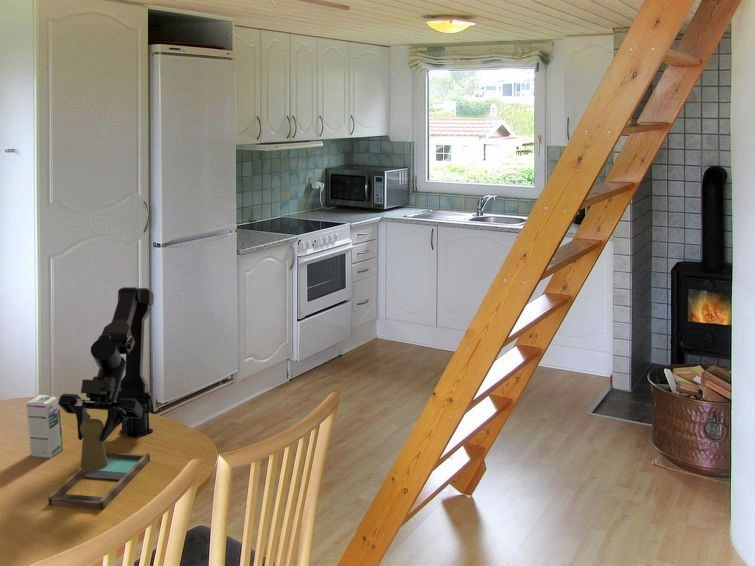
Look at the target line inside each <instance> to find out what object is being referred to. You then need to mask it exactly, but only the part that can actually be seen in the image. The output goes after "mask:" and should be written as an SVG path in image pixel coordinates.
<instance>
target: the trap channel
mask: <svg viewBox="0 0 755 566" xmlns="http://www.w3.org/2000/svg"><path fill="white" fill-rule="evenodd" d="M105 452H106V457H107V458H117V459H130V460H139V461H138V462H137V463H136V464H135V465H134V466H133V467H132V468H131V469H130V470H129V471H128V472H127V473H116V472H104V471H85V470H83V469H81V467H79V468H78V469H77V470H76V471H75V472H74V473H72V475H71V476H70V477H68V478H67V479H66V480H65V481H64V482H63V483H62V484H61V485H59V487H57V488H56V489H55V490H54V491H53V492H52V493H51V494H50V495H48V496H47V501H48V506H55V507H66V508H78V509H89V510H99V511H100V510H101V511H104V510H105V508H106V507H107V506H108V505H110V503H111V502H112V501H113V500H114V499H115V498H116V497H117V496H118V495H119V494H120V493H121V492H122V491H123V489H124V488H126V487H127V485H128V484H130V482H132V480H133V479H134V478H135V477H136V476H137V475H138V474H139V473H140V472H141V471H142V470H143V469H144V468H145V466H146V465H147V464H148V463H149V462H150V461H151V457H150V453H148V452H146V453H145V454H141V453H139V454H138V453H129V452H128V453H125V452H114V451H105ZM81 479H88V480H89V479H90V480H91V479H92V480H101V481H114V482H117V483H115V484H114V485H113V486H112V488H111V489H109V491H108V492H107V493H106V494H104V495H103V496H96V495H95V496H94V495H83V494H72V493H67V492H68V491H70V489H72V488H73V487H74V486H75V485H76V484H77V483H79V481H80V480H81Z"/></svg>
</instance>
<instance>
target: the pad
mask: <svg viewBox="0 0 755 566" xmlns="http://www.w3.org/2000/svg"><path fill="white" fill-rule="evenodd" d="M138 461H139V460H130V459H117V458H107V462H108V465H107V466H106V467H105V468H103V469H101V470H97V471H104V472H116V473H127V472H128V471H129V470H130V469H131V468H132V467H133V466H134V465H135V464H136V463H137V462H138Z"/></svg>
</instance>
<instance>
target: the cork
mask: <svg viewBox="0 0 755 566" xmlns="http://www.w3.org/2000/svg"><path fill="white" fill-rule="evenodd" d="M104 426H105V424H104V422H103V421H102V420H100V419H98V418H90V419H88V420H85V421H83V422H82V424H81V426H80V432H81V434H82V435H83V438H82V443H81V446H82V447H81V455H80V456H81V458H80V468H81V469H83V470H85V471H97V470H101V469H103V468H105V467H106V466H107V465H108V462H107V457H106V452H107V451H106V449H105V443H104V442H102V441H101V435H102V432H103V429H104Z"/></svg>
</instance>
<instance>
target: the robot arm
mask: <svg viewBox="0 0 755 566" xmlns="http://www.w3.org/2000/svg"><path fill="white" fill-rule="evenodd" d="M154 297H155V296H154V292H153V291H151V290H150V289H149V288H148V287H137V286H135V287H133V286H132V287H129V286H128V287H125V286H124V287H121V288H119V289H118V291H117V303H116V307H115V310H114V313H113V316H112V320H111V322H110V323H108V324H106V326H104V328H103V330H102V333H101V334H100V335H99V337H98V338H97V340H96V341H94V342H93V343H92V345H91V346H90V354H91V356H92V358H93V360H94V362H95V364H96V366H97V367H98V368H99V369H98V372H97V375H96V376H93V377H92V379H85V378H84V379H82V381H81V388H80V394H85V396H86V398H87V399H82V398H81V396H79V394H75V393H63V394H61V395H60V396H59V401H58V404H59V407H60V408H61V409H62V410H64V412H66V413H67V414H70V415H71V414H73V415H75V417H76V421H77V438H78V439H79V441H83V435H82V434H81V432H80V426H81V424H82V422H83V421H85V420H88V419H91V415H90V414H89V413H88V411H89V410H99V411H100V410H101V411H107V416H106V420H105V422H104V429H103V432H102V435H101V441H102V442H103V443H104V442H105V441H106V440H107V438H108V437H110V435H111V434H112V433H113V432H114V431H115V430H116V429H117V427H119V426H120V425H121V429H120V430H119V433H121V434H123V435H125V436H128V437H130V438H133V439H135V438H139V437H141V436H144V435H147V434H149V433H153V432H154V429H153V428H151V427H150V415H149V414H150V413H151V412H154V410H155V406H154V400H153V399H154V398H153V397H152V394H151V391H150V390H149V384H148V383H147V381H146V379H145V377H144V375H143V371H144V370H143V368H144V348H145V347H144V344H145V343H144V342H145V338H144V337H145V321H146V319H147V318H148V317H149V315H150V314H151V311H152V306H153V305H154V300H155V299H154ZM121 355H125V358H124V357H122V356H121ZM124 373H125V374H124ZM88 399H89V400H88Z"/></svg>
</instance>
